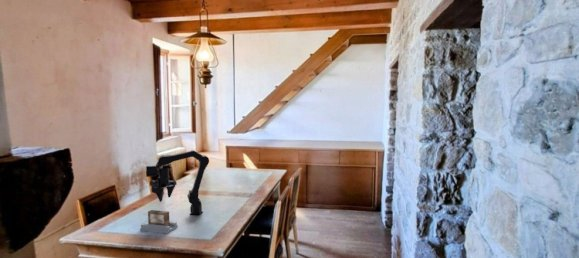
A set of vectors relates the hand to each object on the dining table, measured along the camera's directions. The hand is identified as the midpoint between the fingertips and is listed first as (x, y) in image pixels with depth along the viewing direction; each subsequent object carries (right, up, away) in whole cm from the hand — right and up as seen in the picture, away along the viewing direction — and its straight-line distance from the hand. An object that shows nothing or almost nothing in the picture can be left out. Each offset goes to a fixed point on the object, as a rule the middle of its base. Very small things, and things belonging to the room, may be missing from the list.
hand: (165, 199), depth 202 cm
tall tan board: (+3, -12, -17) cm, 21 cm away
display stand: (+3, -13, -17) cm, 22 cm away
